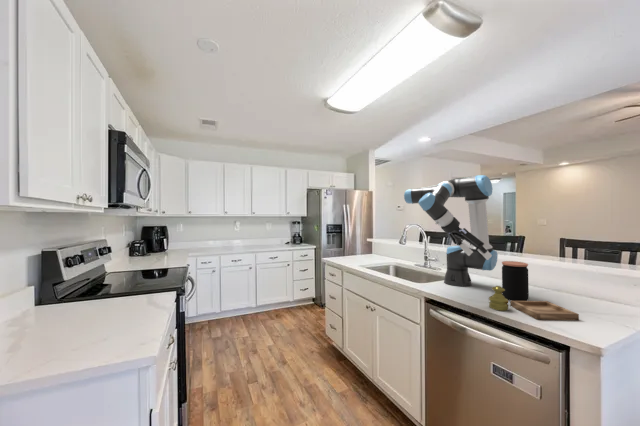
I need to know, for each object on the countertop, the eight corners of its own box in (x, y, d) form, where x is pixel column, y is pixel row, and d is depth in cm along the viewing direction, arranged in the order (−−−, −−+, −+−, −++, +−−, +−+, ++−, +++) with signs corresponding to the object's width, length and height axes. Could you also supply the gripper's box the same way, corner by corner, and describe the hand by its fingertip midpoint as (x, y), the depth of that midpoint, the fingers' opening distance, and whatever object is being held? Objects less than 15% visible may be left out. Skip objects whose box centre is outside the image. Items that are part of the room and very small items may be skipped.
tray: (510, 306, 122) (510, 300, 122) (547, 306, 121) (547, 301, 121) (536, 319, 106) (536, 313, 106) (578, 320, 105) (578, 314, 105)
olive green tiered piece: (490, 304, 125) (489, 283, 125) (509, 307, 120) (509, 285, 120) (487, 308, 119) (487, 286, 119) (508, 312, 114) (507, 289, 115)
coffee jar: (519, 295, 137) (519, 261, 138) (534, 302, 127) (533, 265, 127) (497, 295, 138) (497, 261, 139) (510, 302, 128) (509, 264, 128)
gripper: (429, 227, 133) (458, 257, 132) (455, 228, 108) (492, 266, 107) (439, 216, 133) (469, 247, 133) (468, 215, 108) (505, 253, 108)
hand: (479, 255), depth 120 cm, fingers open, 13 cm apart
